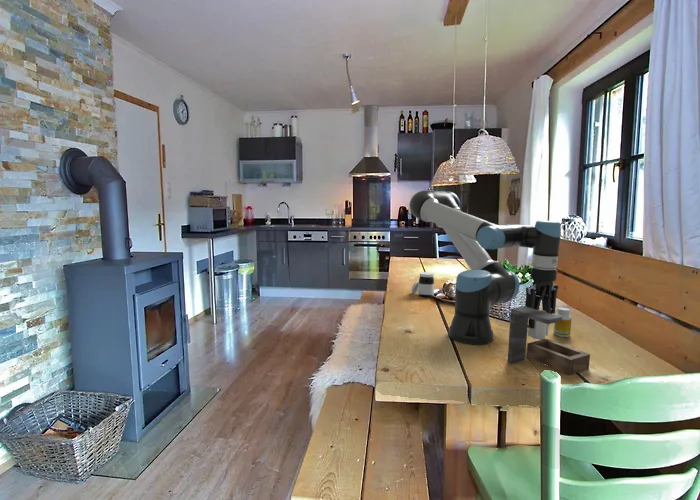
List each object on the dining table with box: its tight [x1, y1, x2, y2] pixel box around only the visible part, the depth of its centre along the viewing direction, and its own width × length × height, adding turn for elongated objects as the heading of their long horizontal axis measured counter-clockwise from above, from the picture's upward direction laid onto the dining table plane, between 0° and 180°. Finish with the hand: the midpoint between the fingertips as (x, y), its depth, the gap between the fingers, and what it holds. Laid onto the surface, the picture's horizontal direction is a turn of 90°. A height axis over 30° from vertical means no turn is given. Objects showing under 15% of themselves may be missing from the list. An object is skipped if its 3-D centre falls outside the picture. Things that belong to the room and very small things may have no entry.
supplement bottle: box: [553, 307, 572, 338], centre depth 142 cm, size 5×5×10 cm
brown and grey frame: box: [506, 305, 591, 376], centre depth 114 cm, size 14×18×17 cm
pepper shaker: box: [532, 308, 546, 340], centre depth 131 cm, size 4×4×10 cm
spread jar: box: [410, 271, 435, 299], centre depth 198 cm, size 12×11×12 cm
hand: (537, 335), depth 132 cm, fingers closed on pepper shaker, 5 cm apart
